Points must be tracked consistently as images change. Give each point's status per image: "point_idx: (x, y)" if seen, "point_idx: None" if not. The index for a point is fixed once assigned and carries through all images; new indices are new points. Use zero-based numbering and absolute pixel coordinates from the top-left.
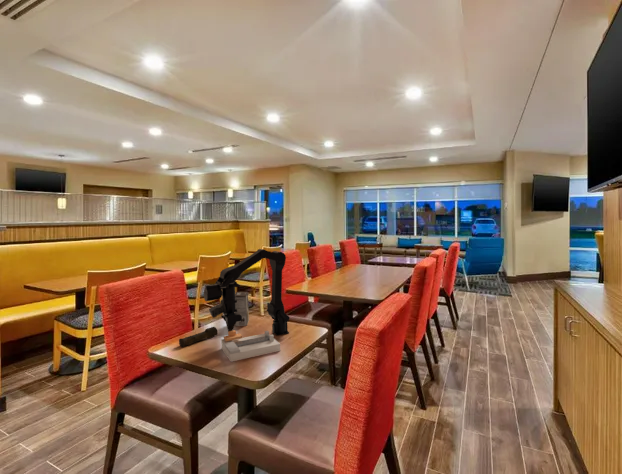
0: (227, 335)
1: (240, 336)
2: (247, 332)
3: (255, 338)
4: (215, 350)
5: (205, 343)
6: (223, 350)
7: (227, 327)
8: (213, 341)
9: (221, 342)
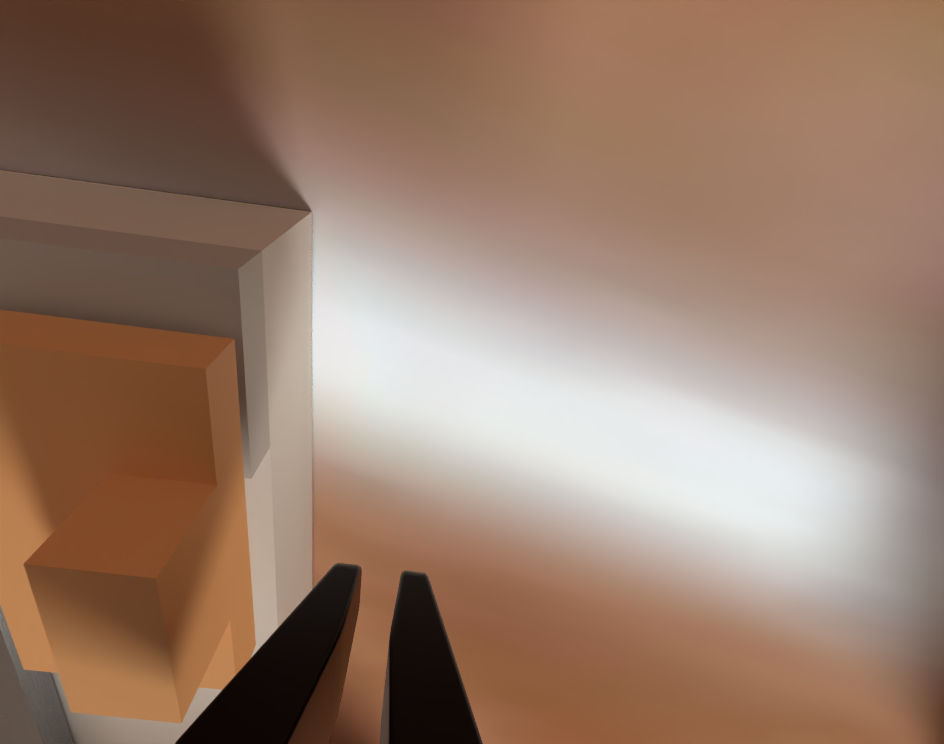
0: (210, 467)
1: (17, 641)
2: (714, 723)
3: (25, 742)
4: (285, 60)
5: (870, 4)
6: (142, 193)
7: (408, 681)
8: (819, 215)
9: (262, 245)
